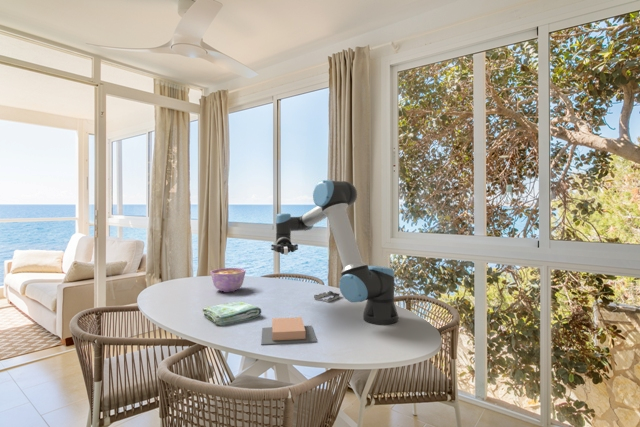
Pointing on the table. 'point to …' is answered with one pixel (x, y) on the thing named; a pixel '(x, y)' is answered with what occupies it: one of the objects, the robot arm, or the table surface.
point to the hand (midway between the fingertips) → (286, 251)
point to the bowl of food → (228, 278)
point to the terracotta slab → (288, 329)
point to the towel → (231, 312)
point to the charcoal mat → (268, 340)
